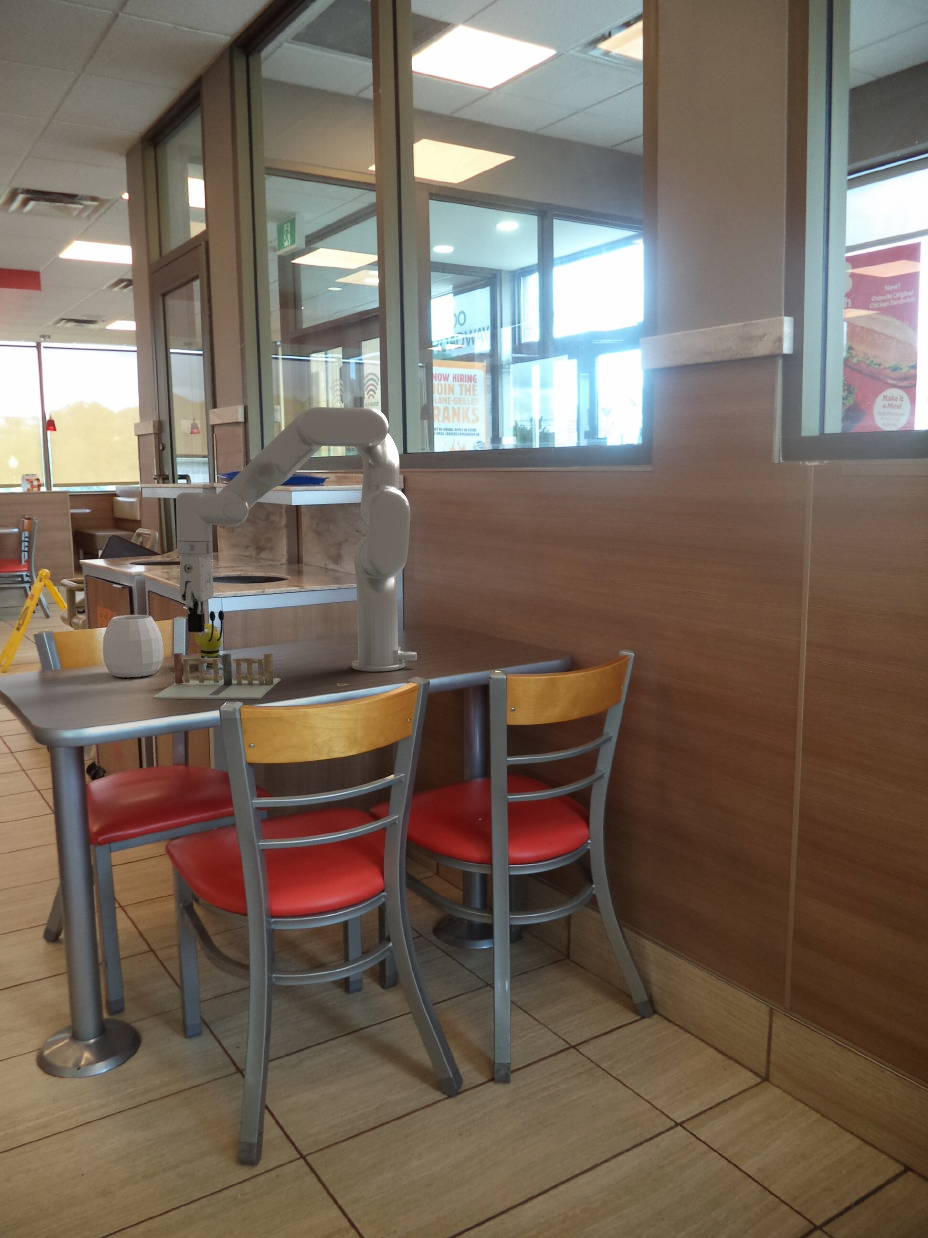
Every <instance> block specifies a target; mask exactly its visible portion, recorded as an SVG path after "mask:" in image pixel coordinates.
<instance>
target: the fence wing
mask: <svg viewBox="0 0 928 1238" xmlns="http://www.w3.org/2000/svg"><path fill="white" fill-rule="evenodd" d="M173 663H174V665H173V666H174V667H173V668H174V683H176V684H181V683H189V682H190V681H199V683H204V681H214V683H219V681H221V680H222V678H223V674H219V673H220V671H219V667H220V666H219V664H220V663H222V658H201V657H184V656H183V653H181V652H178V653H177V652H176V653H173ZM204 663H213V666H212V668H213V669H212V670H213V671H212V673H213V674H210V675H209V674H207V675H205V671H204ZM190 664H198V667H197V668H198V674H195V675H193V674H190Z"/></svg>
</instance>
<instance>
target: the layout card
mask: <svg viewBox="0 0 928 1238" xmlns="http://www.w3.org/2000/svg"><path fill="white" fill-rule="evenodd" d="M280 681H281V678H278V677H277V678H274V677H273V685H265V681H264V684H263V685H259V681H253V684H252V685H248V681H242V684H241V685H237V681H233V677H232V685H224V680H223V677H222V680H221V681H219V683H214V681H204V683H199V681H190V682H189V683H181V684H176V683H175V682H174V683H173V684H172V685H169V686H168V687H166V688H165V689H163V690H161V691H160V692H157V694H155V695H154V696H152V699H153V700H154V699H155V700H156V699H159V700H160V699H164V700H166V699H169V700H170V699H171V700H173V699H174V700H176V699H179V700H180V699H181V700H182V699H183V700H185V699H186V700H187V699H188V700H189V699H190V700H193V699H196V700H200V699H201V700H218V699H219V700H220V699H221V700H224V699H225V700H226V699H227V700H243V699H244V700H260V699H262V698H263V697H264V696H265V695H266V694H267V693H268V692H269V691H271V690H272V689H273V688H274V687H275V686H276V685H277V684H278V683H280Z"/></svg>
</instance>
